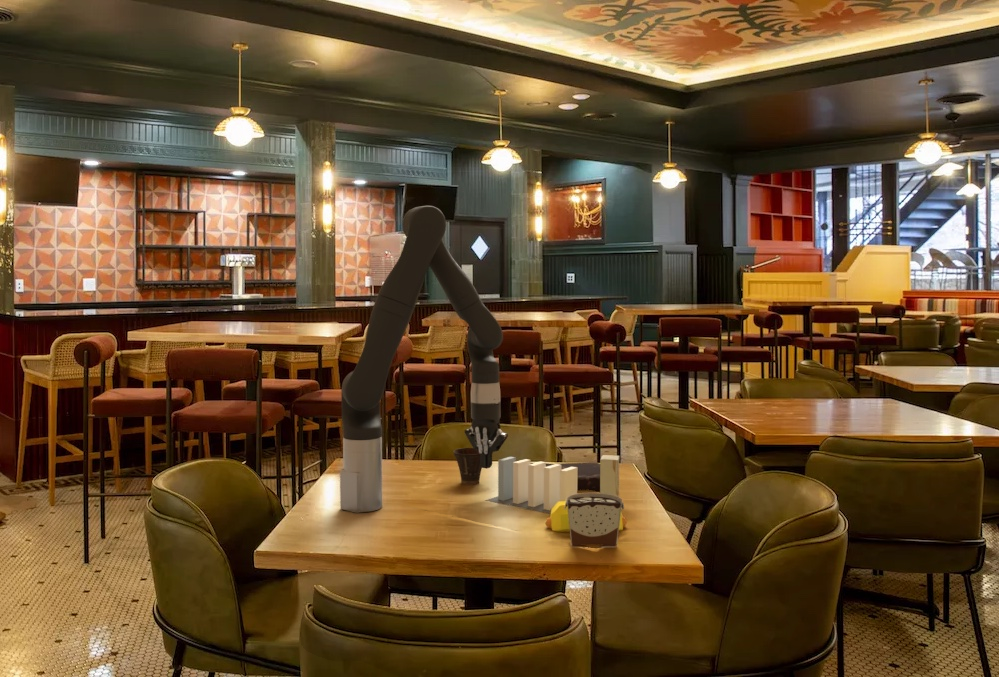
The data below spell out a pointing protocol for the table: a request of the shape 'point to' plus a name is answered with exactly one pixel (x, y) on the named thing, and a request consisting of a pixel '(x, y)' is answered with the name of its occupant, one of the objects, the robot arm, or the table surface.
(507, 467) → the domino
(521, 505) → the mat
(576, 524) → the food container
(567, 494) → the domino
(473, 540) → the table surface
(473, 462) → the cup
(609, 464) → the skincare box
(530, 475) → the domino
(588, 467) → the diary
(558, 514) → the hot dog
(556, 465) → the domino
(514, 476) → the domino
